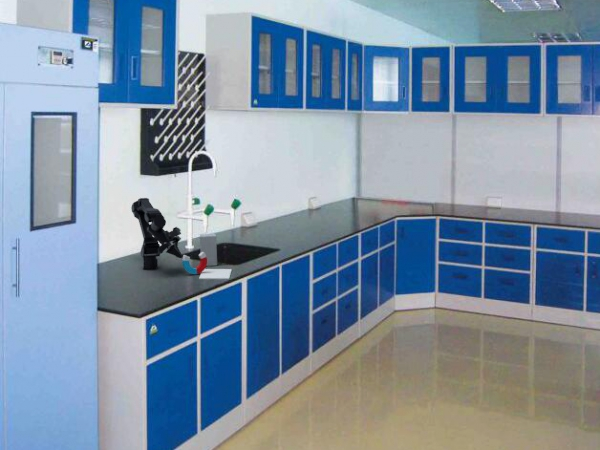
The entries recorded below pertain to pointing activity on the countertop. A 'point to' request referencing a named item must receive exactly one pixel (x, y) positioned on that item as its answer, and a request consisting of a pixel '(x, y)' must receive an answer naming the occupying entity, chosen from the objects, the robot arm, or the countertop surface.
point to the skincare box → (209, 248)
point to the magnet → (198, 269)
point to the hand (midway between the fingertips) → (181, 257)
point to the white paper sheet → (215, 274)
